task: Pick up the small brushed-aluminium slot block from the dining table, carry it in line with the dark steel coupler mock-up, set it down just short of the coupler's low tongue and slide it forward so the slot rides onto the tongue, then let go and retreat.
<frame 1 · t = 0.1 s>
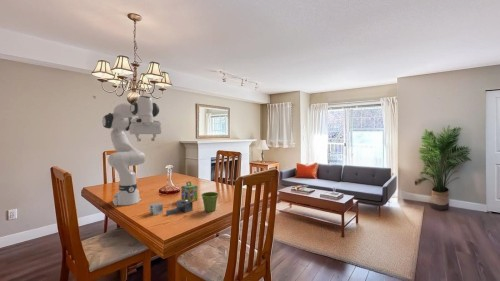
hand: (146, 141, 155), 48 cm above the table, fingers open, 8 cm apart
lock block: (156, 213, 155), on the table
plant pot: (210, 210, 161), on the table
coupler: (178, 211, 158), on the table
green patterned lantern: (189, 200, 183), on the table
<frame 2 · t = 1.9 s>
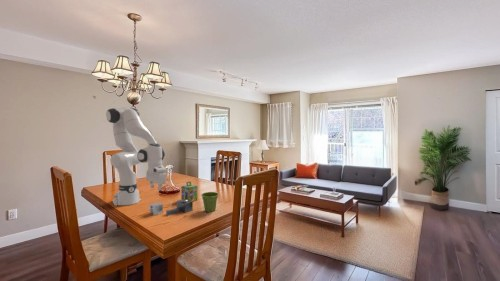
hand: (155, 188, 154), 16 cm above the table, fingers open, 8 cm apart
nothing on the table moved.
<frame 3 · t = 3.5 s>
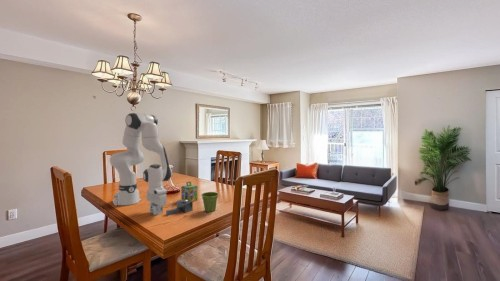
hand: (156, 209, 155), 2 cm above the table, fingers closed on lock block, 6 cm apart
lock block: (156, 213, 155), on the table, touching gripper
everything else where it was.
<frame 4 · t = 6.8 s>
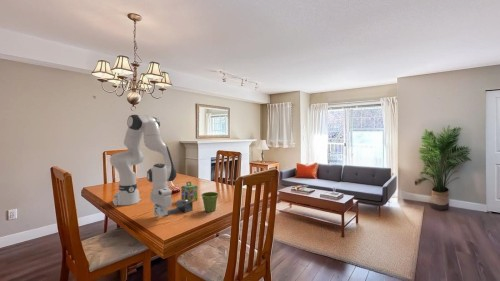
hand: (160, 211, 148), 4 cm above the table, fingers closed on lock block, 6 cm apart
lock block: (160, 214, 148), point 1 cm above the table, touching gripper
everything else where it was.
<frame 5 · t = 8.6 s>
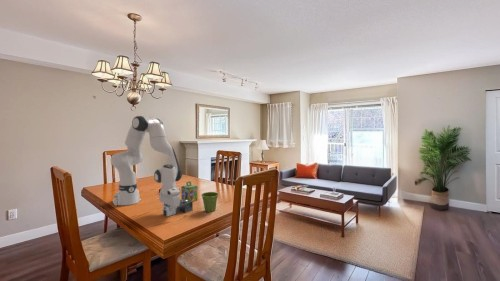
hand: (169, 210, 153), 2 cm above the table, fingers closed on lock block, 6 cm apart
lock block: (169, 214, 153), resting in coupler, touching gripper
everything else where it was.
when the fingers open (2 cm above the table, at t = 10.2 s): lock block stays where it is, resting in coupler.
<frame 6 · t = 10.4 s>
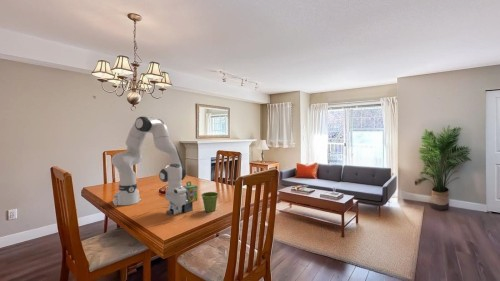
hand: (175, 208, 156), 2 cm above the table, fingers open, 8 cm apart
lock block: (175, 212, 156), resting in coupler
everything else where it was.
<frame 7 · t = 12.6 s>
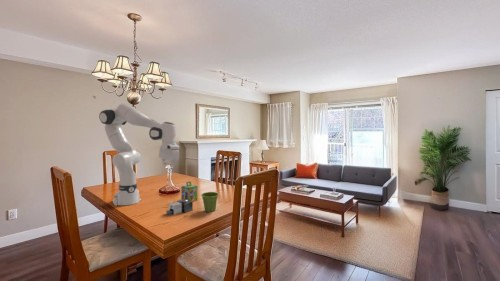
hand: (168, 165, 161), 31 cm above the table, fingers open, 8 cm apart
nothing on the table moved.
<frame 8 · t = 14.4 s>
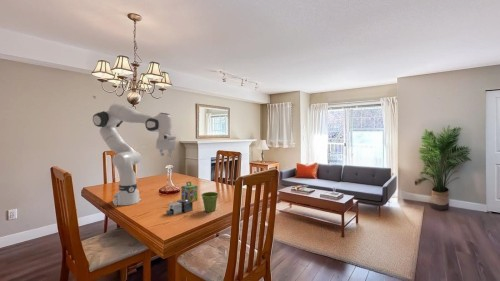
hand: (165, 156, 162), 37 cm above the table, fingers open, 8 cm apart
nothing on the table moved.
at the end: lock block 1.0 cm from the target spot on the coupler, point 0.0 cm above the coupler's base; lock block tilted 0°; the gripper is holding nothing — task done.
